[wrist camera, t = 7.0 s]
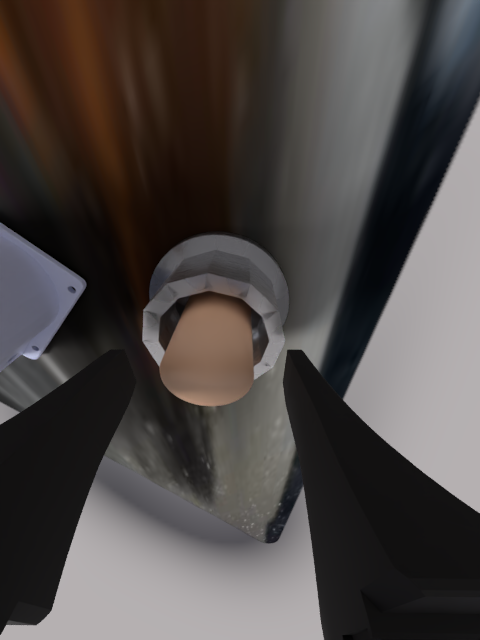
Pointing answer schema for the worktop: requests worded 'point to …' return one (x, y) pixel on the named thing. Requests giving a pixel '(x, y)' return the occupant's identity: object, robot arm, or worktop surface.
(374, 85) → the worktop surface
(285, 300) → the grey piece
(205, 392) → the tan cylinder
